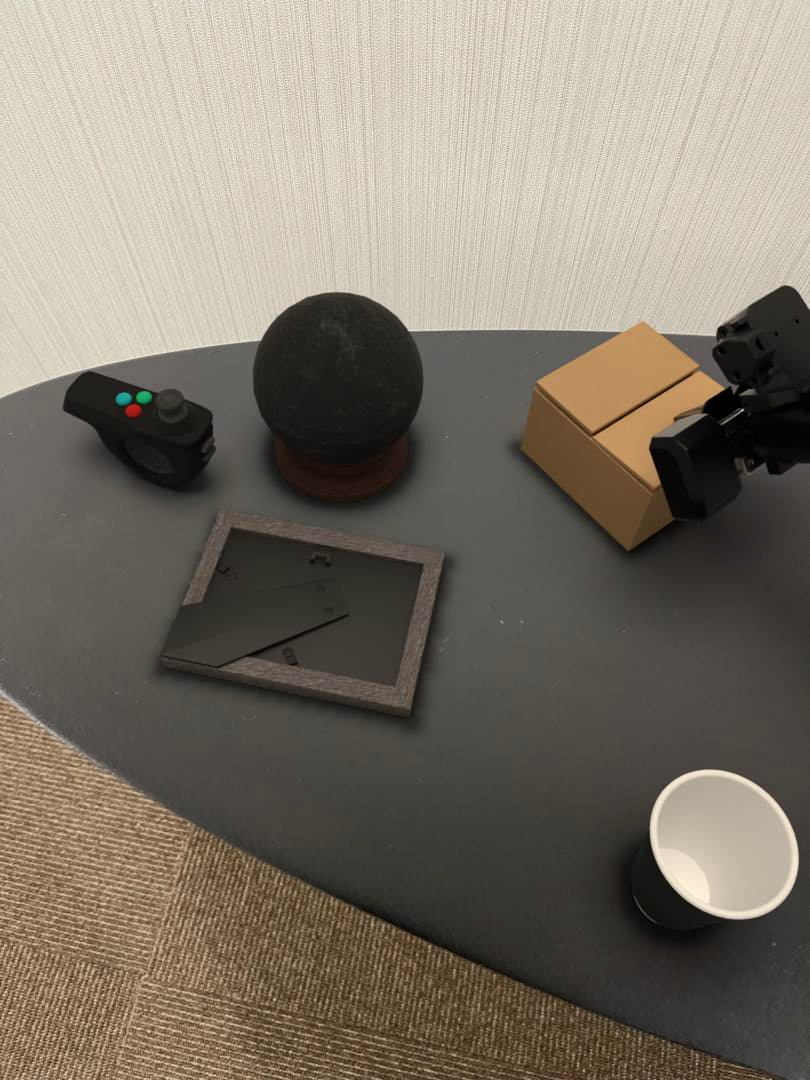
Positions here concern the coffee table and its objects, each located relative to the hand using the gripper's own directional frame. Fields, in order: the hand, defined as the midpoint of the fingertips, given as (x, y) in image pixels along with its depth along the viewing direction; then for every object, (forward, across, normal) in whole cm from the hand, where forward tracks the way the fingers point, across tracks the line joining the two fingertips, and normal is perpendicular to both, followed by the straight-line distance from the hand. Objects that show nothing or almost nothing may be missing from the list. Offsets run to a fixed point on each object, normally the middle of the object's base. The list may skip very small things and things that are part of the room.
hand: (677, 421), depth 69 cm
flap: (0, 0, +1) cm, 1 cm away
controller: (+25, +32, -12) cm, 42 cm away
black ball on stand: (+19, +18, -6) cm, 28 cm away
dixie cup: (-11, +22, +22) cm, 33 cm away
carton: (+8, 0, +4) cm, 9 cm away
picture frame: (+11, +30, +2) cm, 31 cm away
